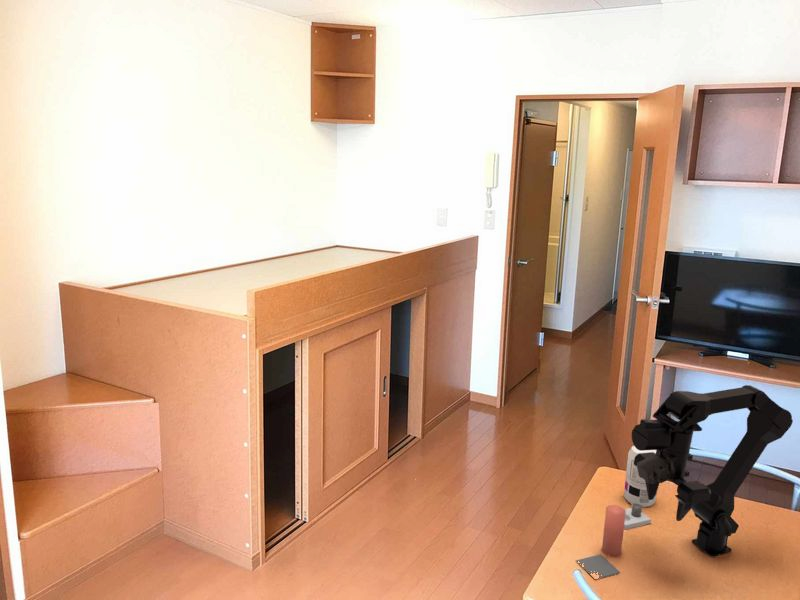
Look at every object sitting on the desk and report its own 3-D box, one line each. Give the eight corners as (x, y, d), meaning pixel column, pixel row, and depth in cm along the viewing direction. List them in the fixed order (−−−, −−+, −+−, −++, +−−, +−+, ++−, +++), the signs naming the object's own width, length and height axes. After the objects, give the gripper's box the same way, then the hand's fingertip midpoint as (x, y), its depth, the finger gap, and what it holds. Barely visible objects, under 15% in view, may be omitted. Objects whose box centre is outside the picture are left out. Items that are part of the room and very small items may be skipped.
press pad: (600, 555, 153) (600, 554, 153) (620, 573, 146) (620, 572, 146) (575, 561, 150) (576, 560, 150) (594, 580, 144) (594, 579, 144)
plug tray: (634, 511, 171) (636, 498, 170) (650, 523, 166) (652, 510, 165) (609, 516, 168) (611, 504, 167) (625, 529, 163) (626, 516, 162)
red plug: (612, 543, 157) (617, 503, 154) (625, 554, 153) (629, 513, 150) (598, 547, 156) (602, 506, 153) (609, 558, 152) (614, 516, 149)
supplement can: (617, 494, 179) (622, 445, 175) (642, 490, 181) (648, 441, 178) (636, 510, 171) (642, 459, 168) (661, 505, 174) (668, 455, 170)
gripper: (620, 432, 152) (610, 492, 155) (677, 469, 135) (664, 536, 138) (658, 429, 155) (647, 488, 159) (718, 465, 138) (705, 530, 142)
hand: (664, 509), depth 149 cm, fingers open, 9 cm apart
